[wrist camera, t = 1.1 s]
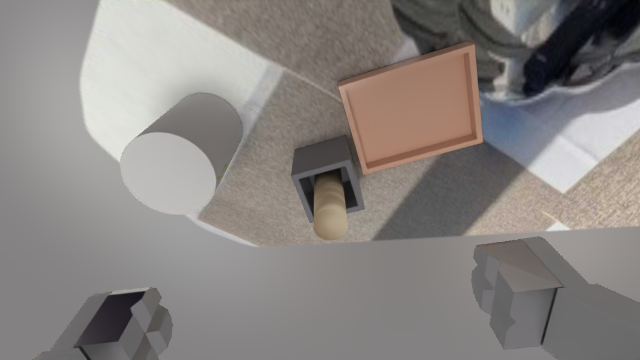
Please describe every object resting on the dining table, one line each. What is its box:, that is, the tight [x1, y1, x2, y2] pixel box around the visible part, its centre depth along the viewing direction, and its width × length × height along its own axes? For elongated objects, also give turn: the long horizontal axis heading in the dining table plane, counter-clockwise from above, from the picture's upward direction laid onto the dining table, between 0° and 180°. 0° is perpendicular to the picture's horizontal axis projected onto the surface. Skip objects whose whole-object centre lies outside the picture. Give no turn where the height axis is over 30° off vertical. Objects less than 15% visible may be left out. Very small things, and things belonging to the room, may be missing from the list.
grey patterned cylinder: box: [120, 93, 242, 215], centre depth 35 cm, size 8×8×12 cm
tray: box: [338, 41, 483, 175], centre depth 38 cm, size 14×11×2 cm
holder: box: [291, 135, 365, 223], centre depth 40 cm, size 6×6×7 cm
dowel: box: [314, 167, 348, 240], centre depth 37 cm, size 3×3×12 cm
